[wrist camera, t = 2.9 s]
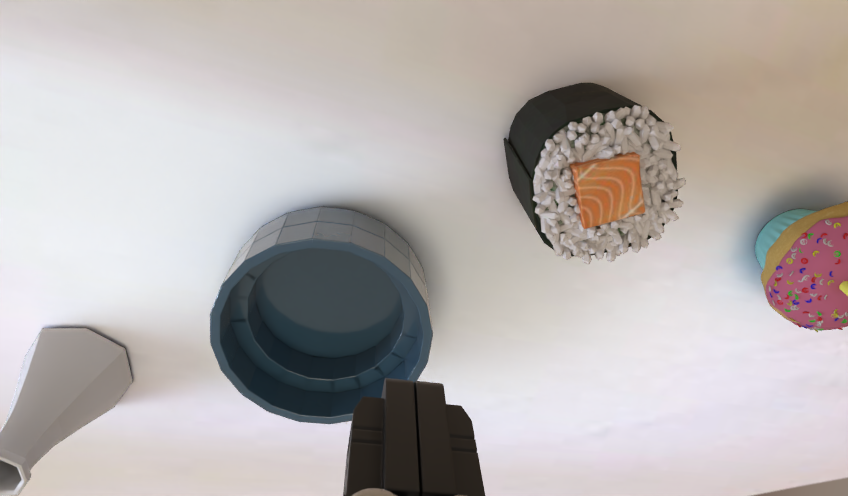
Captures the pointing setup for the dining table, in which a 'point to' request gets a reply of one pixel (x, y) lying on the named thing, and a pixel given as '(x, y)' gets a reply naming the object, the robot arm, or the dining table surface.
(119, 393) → the flask
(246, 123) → the dining table surface
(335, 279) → the bowl
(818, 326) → the cupcake
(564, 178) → the sushi
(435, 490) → the robot arm
